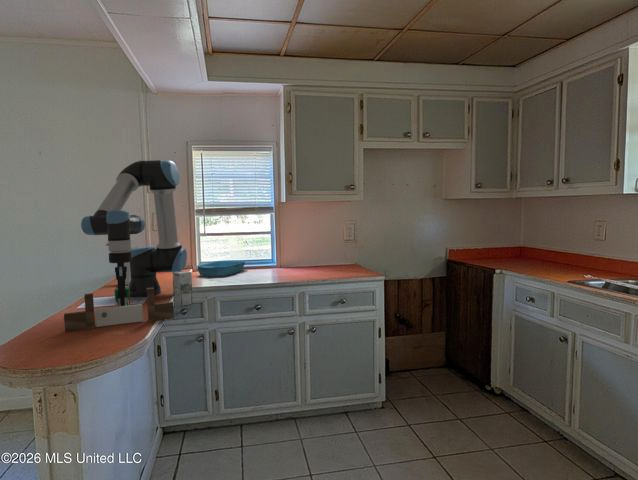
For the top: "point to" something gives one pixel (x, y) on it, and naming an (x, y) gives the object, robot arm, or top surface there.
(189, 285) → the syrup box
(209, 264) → the casserole dish
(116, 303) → the soda can
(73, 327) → the partition
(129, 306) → the gate
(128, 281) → the pale grey tall block
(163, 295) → the top surface
